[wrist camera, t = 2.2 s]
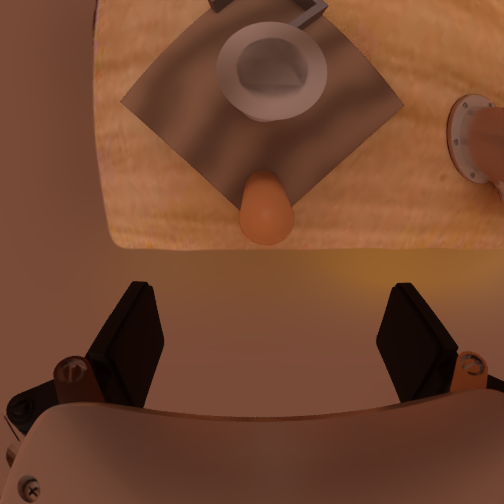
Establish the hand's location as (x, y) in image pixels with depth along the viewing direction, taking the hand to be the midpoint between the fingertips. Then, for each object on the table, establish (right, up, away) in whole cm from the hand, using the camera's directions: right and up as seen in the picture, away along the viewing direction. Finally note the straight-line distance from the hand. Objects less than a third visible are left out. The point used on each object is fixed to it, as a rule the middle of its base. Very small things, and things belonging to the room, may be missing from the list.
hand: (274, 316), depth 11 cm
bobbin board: (0, +19, +17) cm, 26 cm away
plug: (0, +9, +19) cm, 21 cm away
